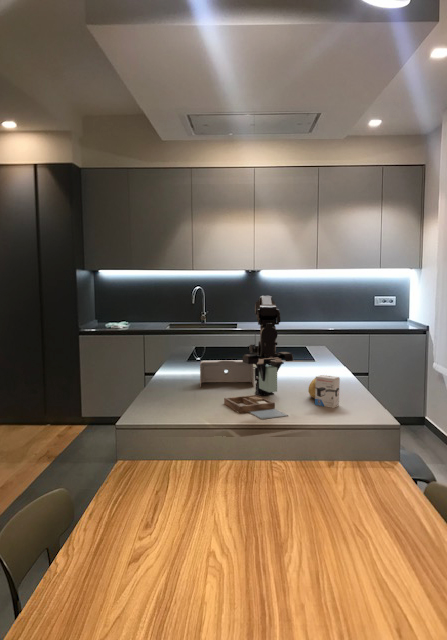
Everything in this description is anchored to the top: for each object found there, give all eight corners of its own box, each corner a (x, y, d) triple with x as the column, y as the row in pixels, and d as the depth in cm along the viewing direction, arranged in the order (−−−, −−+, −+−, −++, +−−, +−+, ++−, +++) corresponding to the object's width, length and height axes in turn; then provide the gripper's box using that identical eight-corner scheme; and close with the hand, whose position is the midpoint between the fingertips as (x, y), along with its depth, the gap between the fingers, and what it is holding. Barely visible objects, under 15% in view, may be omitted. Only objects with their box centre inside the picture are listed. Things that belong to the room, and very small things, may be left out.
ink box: (314, 405, 205) (315, 376, 204) (319, 403, 209) (320, 374, 208) (334, 408, 200) (334, 378, 199) (339, 406, 204) (340, 376, 203)
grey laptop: (251, 382, 251) (251, 357, 250) (254, 389, 235) (254, 363, 234) (200, 383, 251) (200, 358, 250) (200, 390, 235) (199, 363, 234)
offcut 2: (263, 406, 204) (263, 400, 204) (268, 409, 200) (268, 403, 200) (256, 407, 203) (256, 401, 203) (260, 409, 199) (260, 403, 199)
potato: (337, 398, 217) (338, 376, 217) (320, 403, 206) (320, 380, 206) (316, 394, 224) (317, 373, 224) (299, 399, 213) (299, 377, 213)
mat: (273, 409, 199) (273, 408, 199) (288, 416, 189) (288, 415, 189) (248, 412, 195) (248, 411, 195) (261, 419, 185) (261, 418, 185)
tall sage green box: (267, 387, 195) (267, 364, 195) (277, 391, 188) (277, 367, 187) (258, 388, 194) (258, 364, 193) (268, 392, 187) (268, 368, 186)
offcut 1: (254, 400, 210) (254, 396, 210) (262, 402, 206) (262, 398, 206) (248, 401, 208) (248, 397, 208) (256, 403, 204) (256, 399, 204)
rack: (257, 400, 214) (257, 394, 213) (274, 409, 199) (274, 402, 199) (224, 404, 208) (224, 398, 208) (239, 413, 194) (239, 406, 193)
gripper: (279, 335, 201) (279, 375, 202) (236, 338, 193) (236, 378, 195) (293, 338, 190) (293, 380, 192) (249, 341, 183) (249, 384, 184)
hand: (267, 380), depth 191 cm, fingers closed on tall sage green box, 3 cm apart
